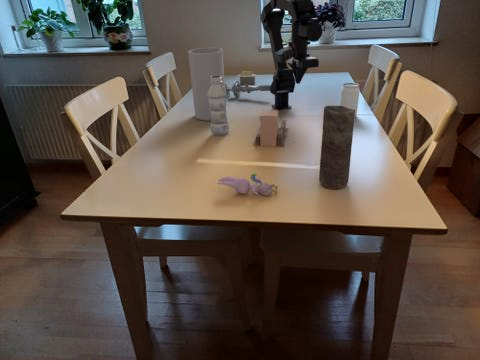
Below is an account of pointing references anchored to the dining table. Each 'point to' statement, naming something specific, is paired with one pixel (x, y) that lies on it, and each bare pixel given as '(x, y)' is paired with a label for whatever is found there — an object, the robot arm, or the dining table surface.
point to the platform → (247, 77)
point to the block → (268, 128)
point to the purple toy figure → (248, 185)
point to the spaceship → (244, 88)
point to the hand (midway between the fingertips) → (297, 83)
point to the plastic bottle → (218, 107)
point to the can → (350, 96)
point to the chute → (280, 139)
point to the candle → (336, 146)
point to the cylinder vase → (204, 77)
